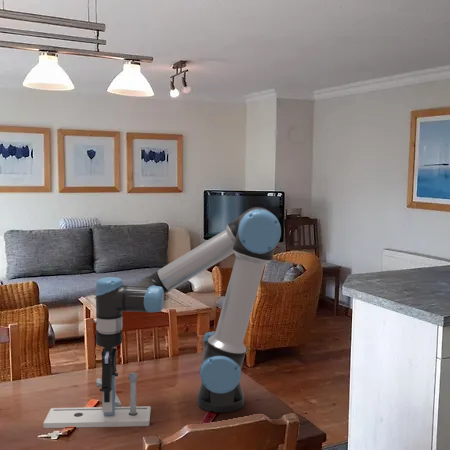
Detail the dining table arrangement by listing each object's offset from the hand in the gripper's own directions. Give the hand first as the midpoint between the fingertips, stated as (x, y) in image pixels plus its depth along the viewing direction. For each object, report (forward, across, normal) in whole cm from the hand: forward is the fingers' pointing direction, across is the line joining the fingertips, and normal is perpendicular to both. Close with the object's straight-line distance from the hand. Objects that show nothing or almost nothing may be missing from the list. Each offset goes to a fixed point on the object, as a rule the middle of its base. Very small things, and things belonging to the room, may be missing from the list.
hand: (109, 404), depth 164 cm
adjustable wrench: (+5, -19, -3) cm, 20 cm away
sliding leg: (+2, 0, 0) cm, 2 cm away
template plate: (+4, 0, -3) cm, 5 cm away
